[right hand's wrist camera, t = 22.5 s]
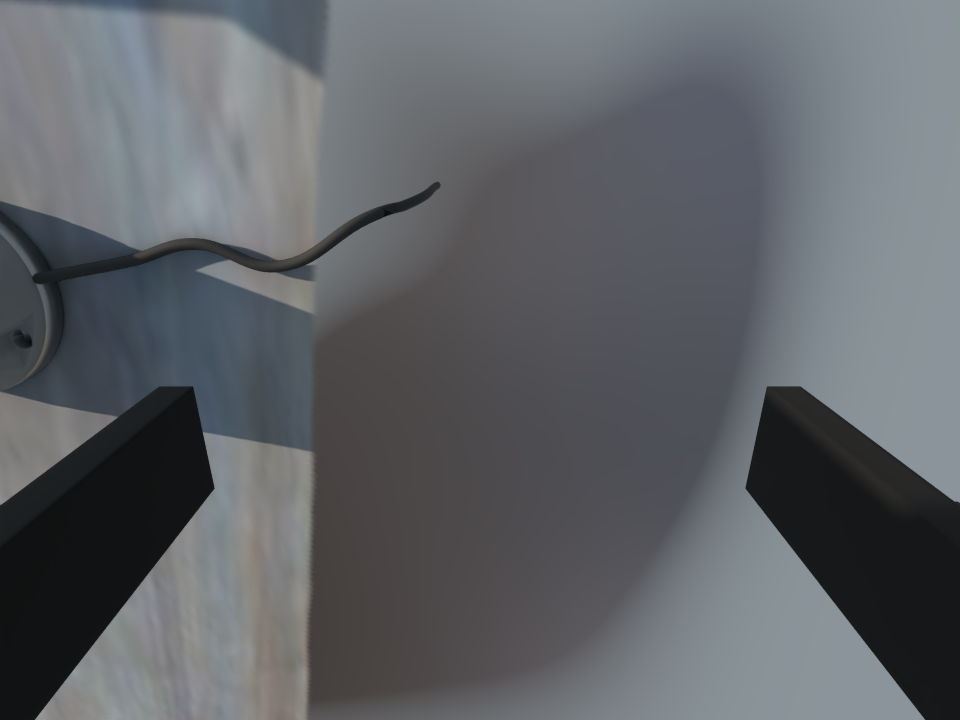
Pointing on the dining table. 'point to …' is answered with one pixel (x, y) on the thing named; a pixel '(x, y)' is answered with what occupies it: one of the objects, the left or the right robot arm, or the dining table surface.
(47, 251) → the dining table surface
